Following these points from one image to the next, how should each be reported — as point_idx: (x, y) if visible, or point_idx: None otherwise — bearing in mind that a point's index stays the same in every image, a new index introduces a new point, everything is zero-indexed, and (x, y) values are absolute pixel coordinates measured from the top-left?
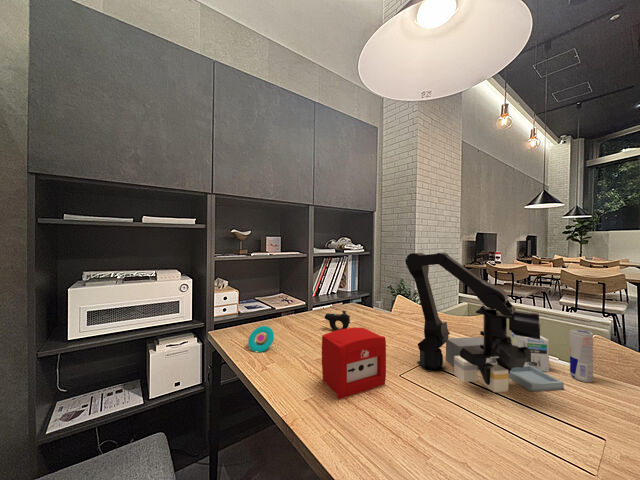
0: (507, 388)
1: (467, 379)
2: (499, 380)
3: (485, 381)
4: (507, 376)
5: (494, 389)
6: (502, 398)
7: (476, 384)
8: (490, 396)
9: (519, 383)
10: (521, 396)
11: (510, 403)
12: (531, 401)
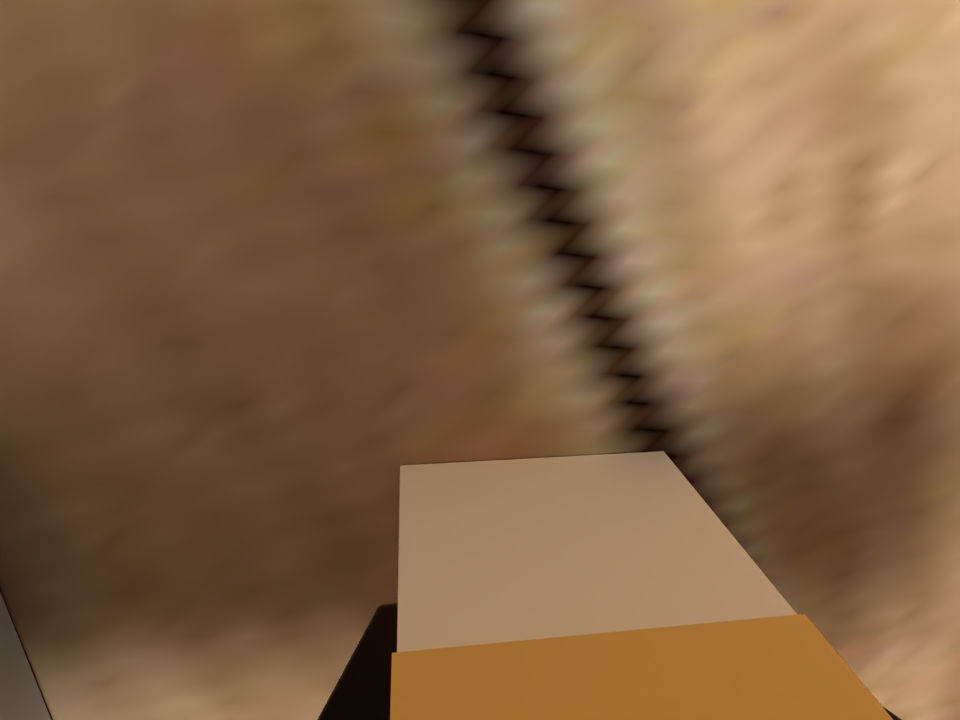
0: (417, 493)
1: None
2: (644, 606)
3: None
4: (427, 711)
5: (676, 478)
6: (690, 287)
7: None
8: (824, 356)
9: (6, 646)
10: (283, 309)
11: (695, 130)
12: (208, 131)
